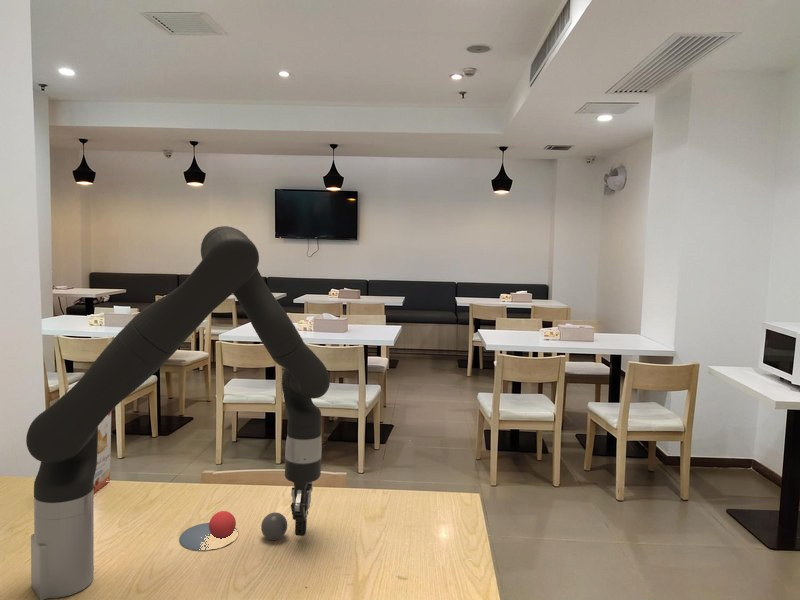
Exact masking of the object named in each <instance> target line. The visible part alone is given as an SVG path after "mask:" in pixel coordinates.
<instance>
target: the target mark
mask: <svg viewBox="0 0 800 600" xmlns="http://www.w3.org/2000/svg"><path fill="white" fill-rule="evenodd" d="M235 529H236V530H238V529H237V528H236V527H235ZM234 531H235V530H234ZM237 532H238V533H239V531H237ZM208 534H209V535H208ZM210 534H211V533H210V530H209V522H204V523H200V524H196V525H193V526H191V527H188V528H186V529H185V530H183V532H182V533H181V534H180V535H179V540H178V541H179V544H180V546H181V547H183V548H185V549H187V550H189V549H192V550H191V551H194V550H199V549H200V550H201V548H202V547H203V546H202V547H201V545H202V544H203V543H202V544H201V542H205V540H206V539H205V540H204V538H206V536H210ZM205 535H206V536H205ZM201 537H202V538H201ZM207 538H208V537H207ZM208 539H209V538H208ZM206 542H207V541H206ZM206 542H205V544H206ZM200 544H201V545H200ZM206 545H207V544H206ZM206 545H204V547H206ZM208 545H209V544H208ZM200 547H201V548H200ZM207 547H208V546H207ZM207 547H206V548H207ZM206 548H205V550H206ZM208 548H209V547H208Z"/></svg>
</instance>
